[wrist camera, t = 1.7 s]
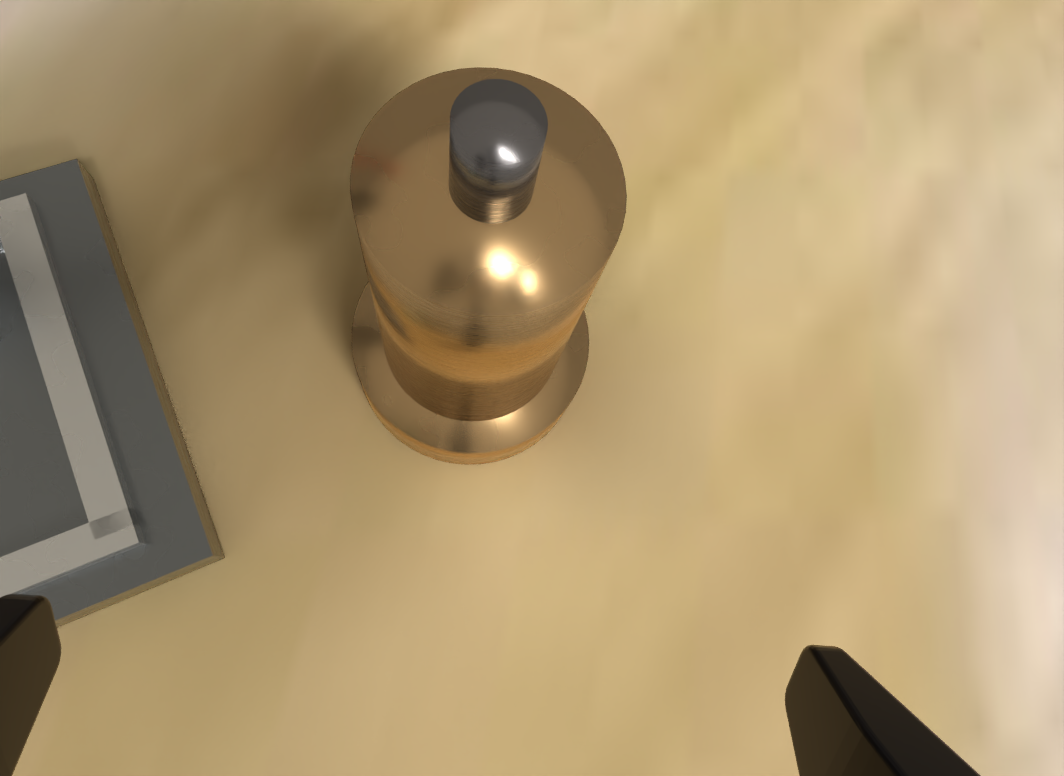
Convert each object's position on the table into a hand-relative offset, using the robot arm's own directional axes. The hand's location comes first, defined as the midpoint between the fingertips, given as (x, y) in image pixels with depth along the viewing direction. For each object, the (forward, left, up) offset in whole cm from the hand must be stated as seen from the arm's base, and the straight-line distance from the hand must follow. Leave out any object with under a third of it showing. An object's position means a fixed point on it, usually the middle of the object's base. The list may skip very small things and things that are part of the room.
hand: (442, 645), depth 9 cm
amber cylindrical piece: (+4, -7, -13) cm, 16 cm away
